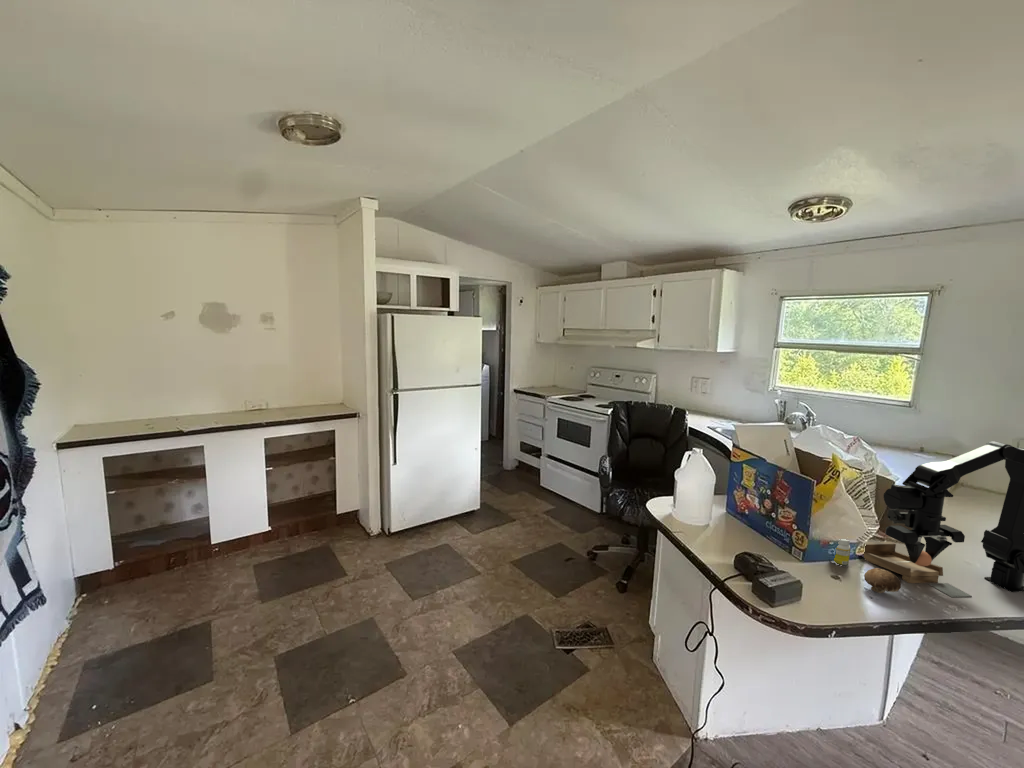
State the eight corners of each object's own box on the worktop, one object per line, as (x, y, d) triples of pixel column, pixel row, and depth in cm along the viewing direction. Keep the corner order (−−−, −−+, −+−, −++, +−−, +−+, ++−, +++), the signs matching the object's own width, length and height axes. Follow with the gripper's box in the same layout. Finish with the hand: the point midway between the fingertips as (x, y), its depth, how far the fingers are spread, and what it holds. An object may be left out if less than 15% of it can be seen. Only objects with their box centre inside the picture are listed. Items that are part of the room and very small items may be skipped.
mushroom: (854, 584, 121) (857, 563, 120) (883, 585, 120) (886, 564, 120) (877, 601, 113) (880, 579, 112) (908, 603, 112) (912, 580, 112)
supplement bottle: (829, 557, 135) (832, 532, 134) (848, 563, 132) (851, 537, 131) (828, 564, 131) (831, 538, 130) (848, 569, 128) (851, 543, 127)
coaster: (947, 584, 122) (947, 582, 121) (971, 597, 116) (971, 595, 116) (928, 584, 121) (928, 583, 121) (951, 598, 115) (951, 596, 115)
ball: (919, 561, 125) (921, 546, 125) (935, 569, 121) (937, 554, 120) (905, 561, 125) (907, 547, 124) (920, 569, 120) (923, 555, 120)
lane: (889, 555, 137) (891, 541, 137) (941, 584, 122) (944, 568, 121) (858, 556, 136) (860, 542, 136) (906, 585, 121) (908, 569, 120)
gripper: (928, 498, 130) (921, 547, 132) (871, 499, 128) (865, 548, 130) (970, 514, 119) (961, 566, 120) (908, 515, 117) (901, 568, 119)
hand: (920, 561), depth 123 cm, fingers closed on ball, 4 cm apart
